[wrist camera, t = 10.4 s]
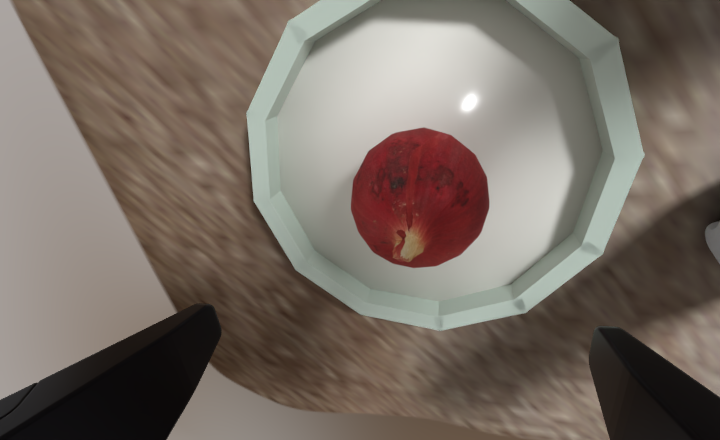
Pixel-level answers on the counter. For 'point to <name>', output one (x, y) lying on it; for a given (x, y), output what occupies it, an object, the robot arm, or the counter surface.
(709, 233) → the bottle
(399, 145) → the onion
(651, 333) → the counter surface
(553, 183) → the plate
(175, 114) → the counter surface
